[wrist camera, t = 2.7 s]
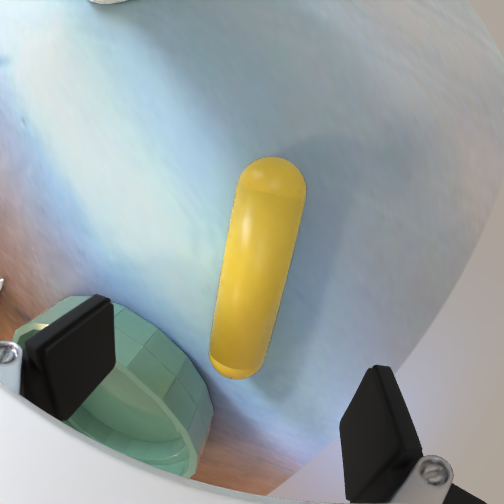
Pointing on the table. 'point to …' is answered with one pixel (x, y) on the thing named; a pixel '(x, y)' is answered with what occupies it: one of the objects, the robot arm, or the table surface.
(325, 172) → the table surface
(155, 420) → the green round dish
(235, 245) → the yellow rounded capsule
